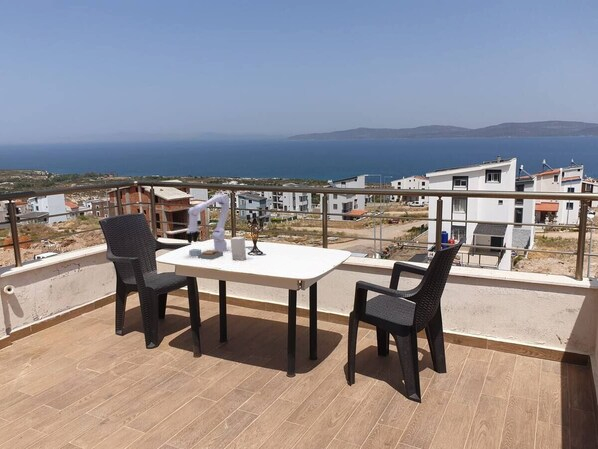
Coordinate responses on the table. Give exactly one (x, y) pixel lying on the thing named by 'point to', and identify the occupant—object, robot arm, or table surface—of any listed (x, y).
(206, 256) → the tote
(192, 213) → the robot arm
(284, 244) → the table surface
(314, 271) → the table surface
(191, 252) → the carton
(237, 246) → the skincare box
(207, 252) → the walnut block
